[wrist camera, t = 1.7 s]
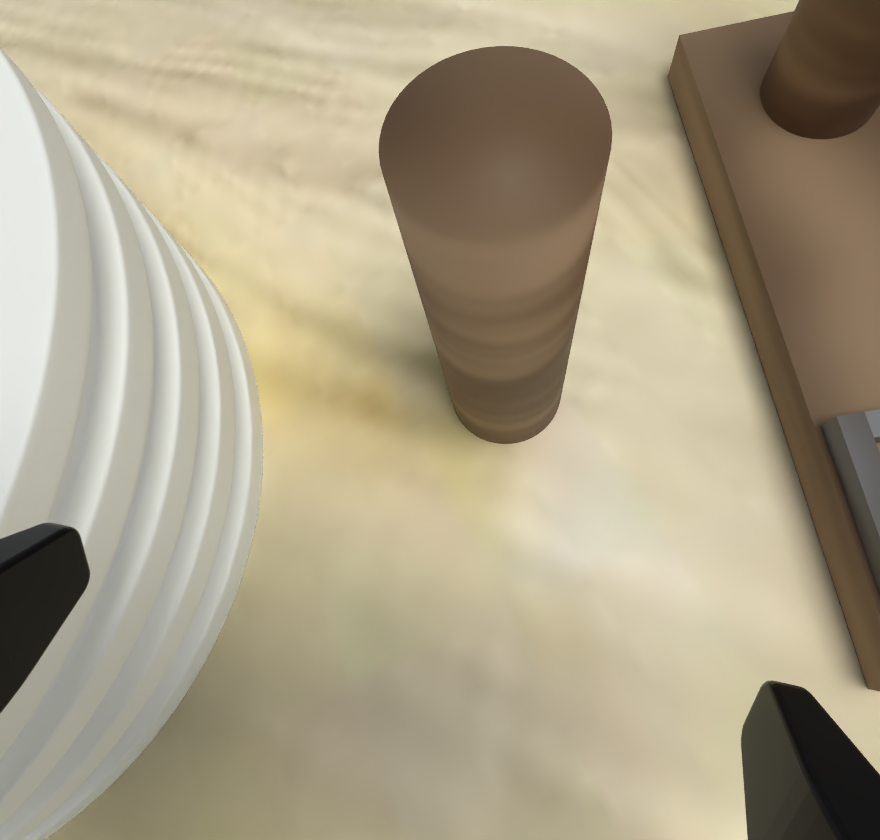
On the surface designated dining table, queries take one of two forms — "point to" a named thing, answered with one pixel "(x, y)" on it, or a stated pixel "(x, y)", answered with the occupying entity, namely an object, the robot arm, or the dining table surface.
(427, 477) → the dining table surface
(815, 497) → the peg board
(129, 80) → the dining table surface
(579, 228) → the stool leg
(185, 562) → the plate stack
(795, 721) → the robot arm
